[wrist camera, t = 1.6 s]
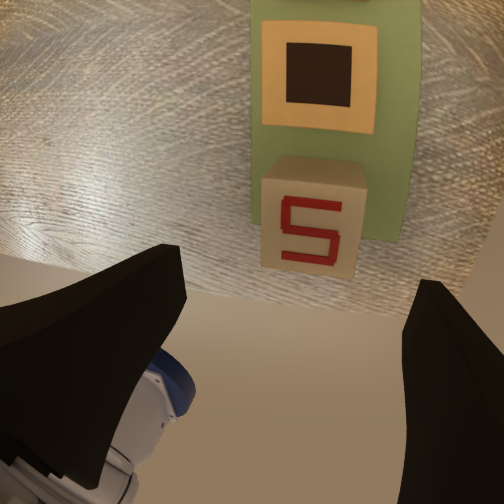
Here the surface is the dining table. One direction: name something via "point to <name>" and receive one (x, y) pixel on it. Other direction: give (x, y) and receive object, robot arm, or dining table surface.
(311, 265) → the letter s
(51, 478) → the robot arm
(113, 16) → the dining table surface
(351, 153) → the word mat
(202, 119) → the dining table surface
